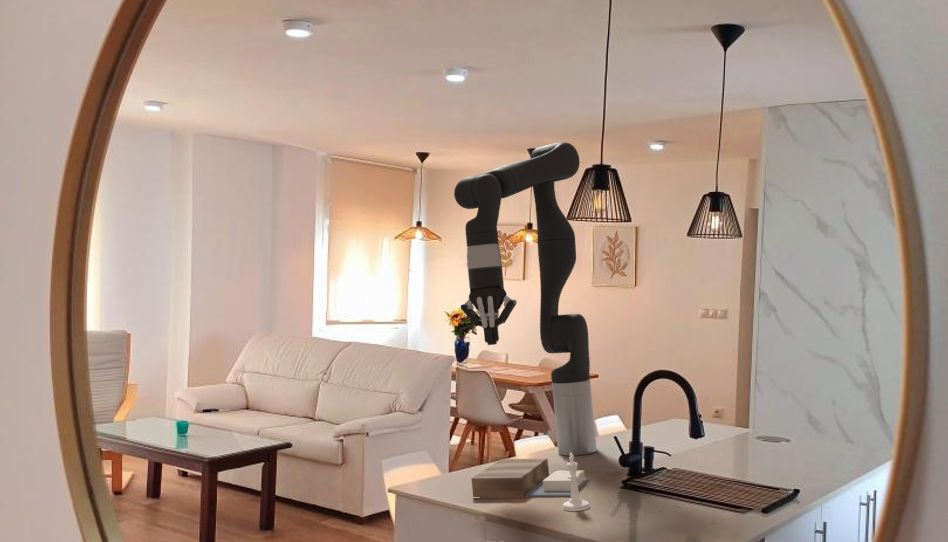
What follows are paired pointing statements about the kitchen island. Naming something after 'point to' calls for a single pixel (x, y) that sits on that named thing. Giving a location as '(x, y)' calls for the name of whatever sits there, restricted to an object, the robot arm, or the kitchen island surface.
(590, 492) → the kitchen island surface
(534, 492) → the mat
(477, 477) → the block
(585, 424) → the robot arm
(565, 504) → the chess piece
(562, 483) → the white rectangular block
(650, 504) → the kitchen island surface
